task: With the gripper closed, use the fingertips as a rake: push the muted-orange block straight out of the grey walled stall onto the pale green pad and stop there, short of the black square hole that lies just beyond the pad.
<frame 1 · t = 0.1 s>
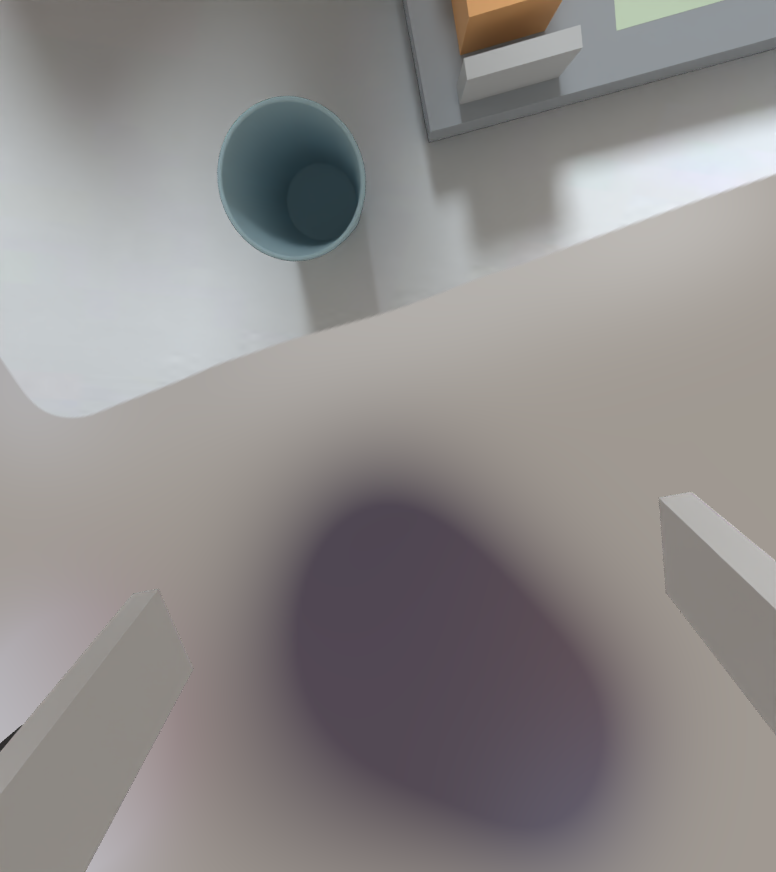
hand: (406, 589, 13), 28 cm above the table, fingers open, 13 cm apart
cup: (324, 204, 36), on the table
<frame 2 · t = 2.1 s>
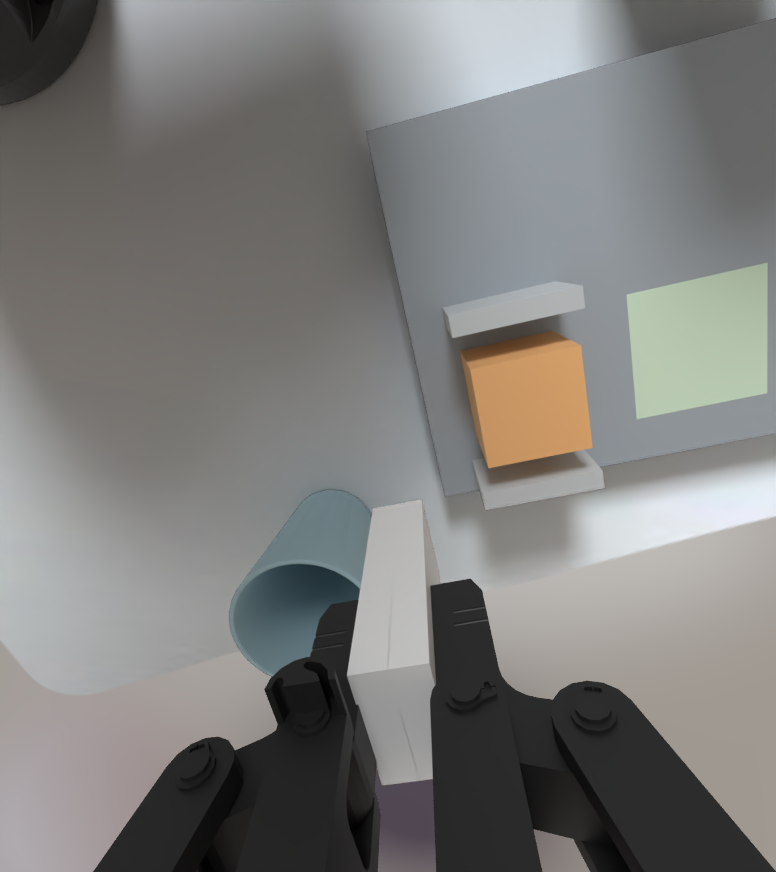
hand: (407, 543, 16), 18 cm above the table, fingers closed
orange block: (512, 384, 29), point 3 cm above the table, touching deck
cup: (334, 523, 36), on the table
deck: (649, 272, 29), on the table
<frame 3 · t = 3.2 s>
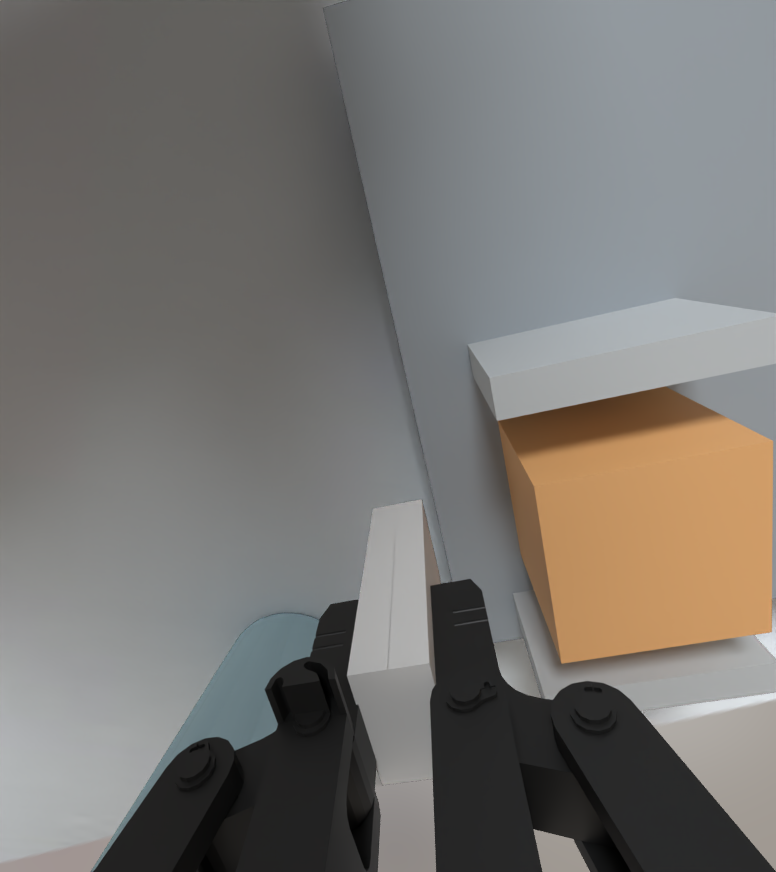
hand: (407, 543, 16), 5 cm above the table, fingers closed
orange block: (587, 475, 17), point 3 cm above the table, touching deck
cup: (294, 658, 24), on the table
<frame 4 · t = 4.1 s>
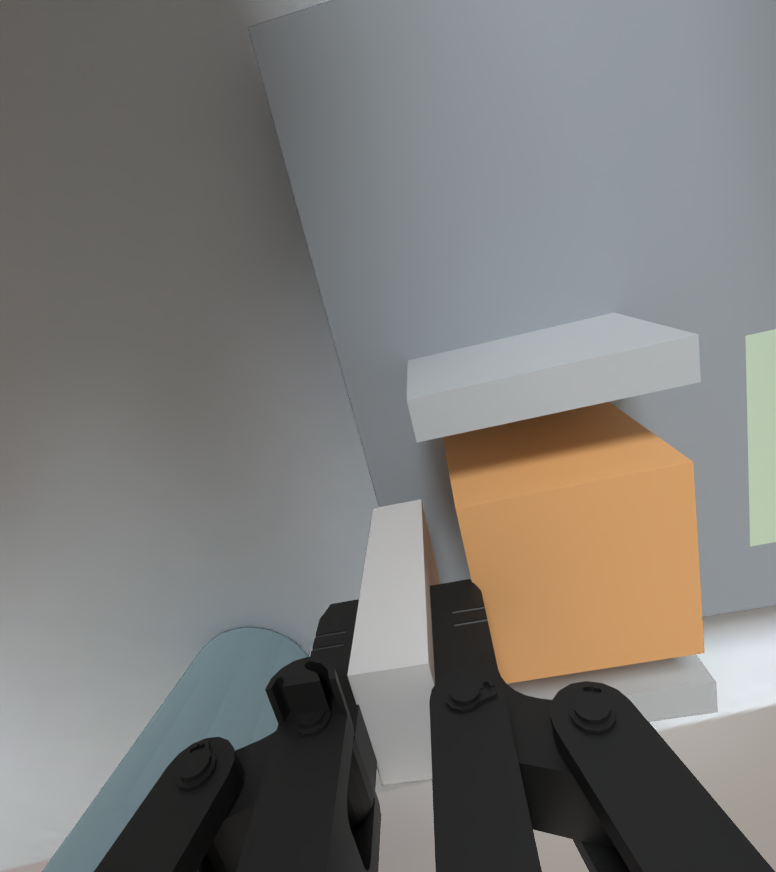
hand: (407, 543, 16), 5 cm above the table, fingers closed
orange block: (534, 490, 16), point 3 cm above the table, touching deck, gripper
cup: (258, 672, 23), on the table
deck: (768, 290, 17), on the table
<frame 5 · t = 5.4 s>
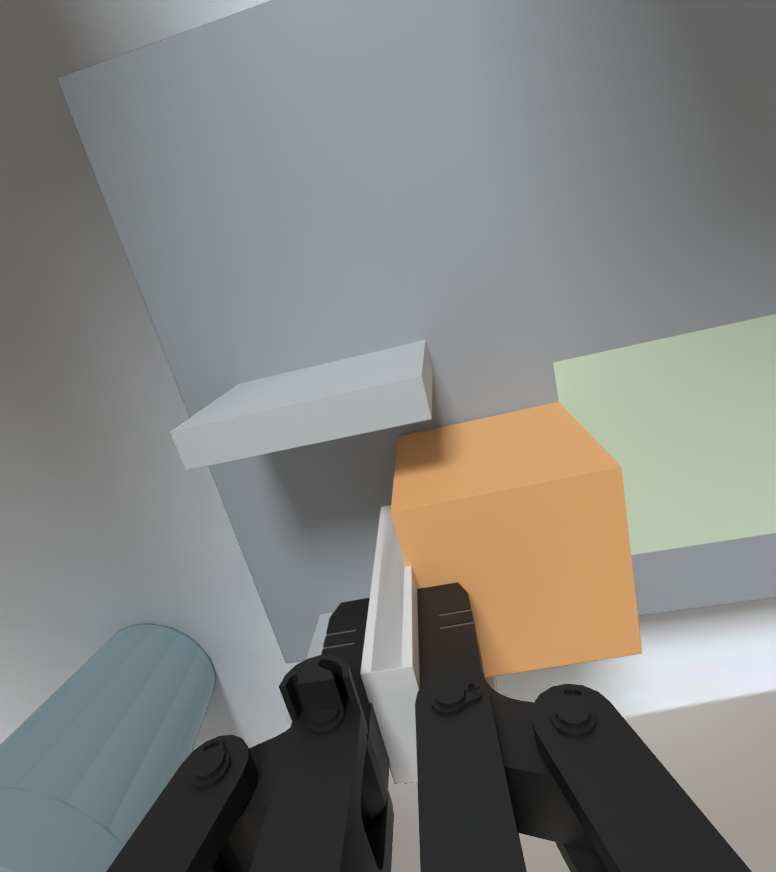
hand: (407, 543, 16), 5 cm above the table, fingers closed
orange block: (491, 491, 17), point 3 cm above the table, touching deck, gripper
cup: (162, 665, 25), on the table
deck: (607, 313, 17), on the table
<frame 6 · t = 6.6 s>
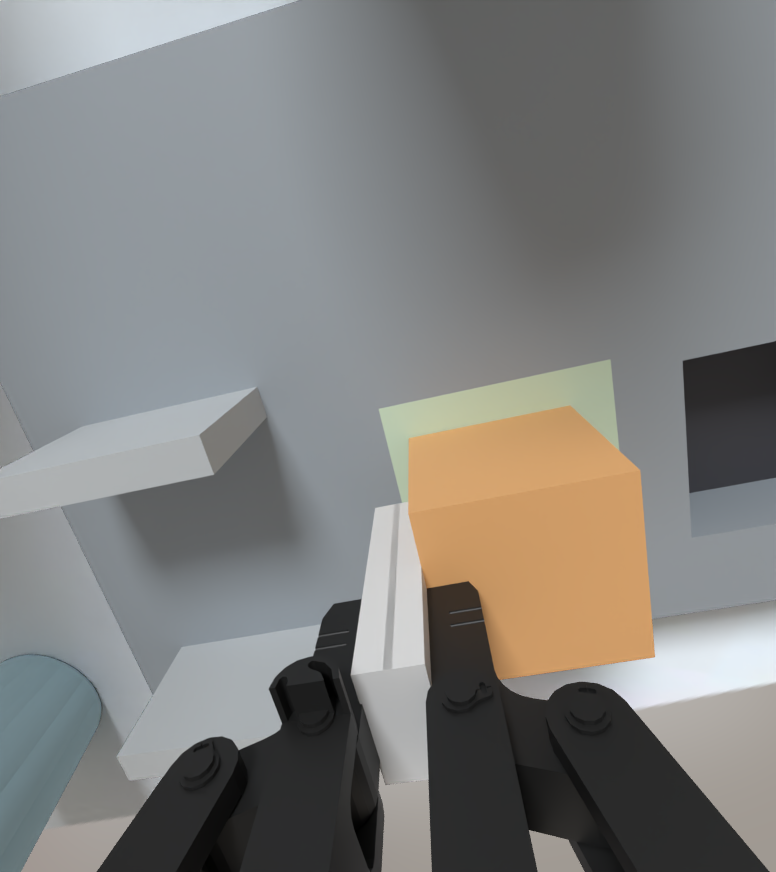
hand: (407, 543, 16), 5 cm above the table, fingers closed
orange block: (500, 494, 17), point 3 cm above the table, touching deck, gripper
cup: (49, 695, 25), on the table
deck: (449, 357, 18), on the table
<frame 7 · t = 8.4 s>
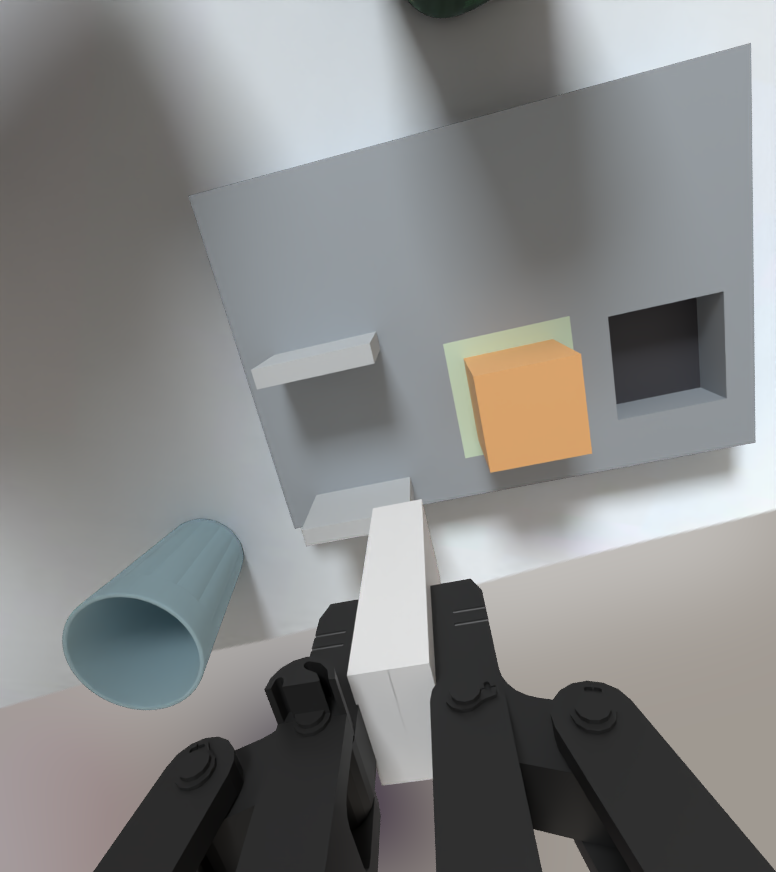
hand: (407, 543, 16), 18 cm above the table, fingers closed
orange block: (514, 391, 29), point 3 cm above the table, touching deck
cup: (207, 550, 37), on the table
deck: (479, 319, 31), on the table
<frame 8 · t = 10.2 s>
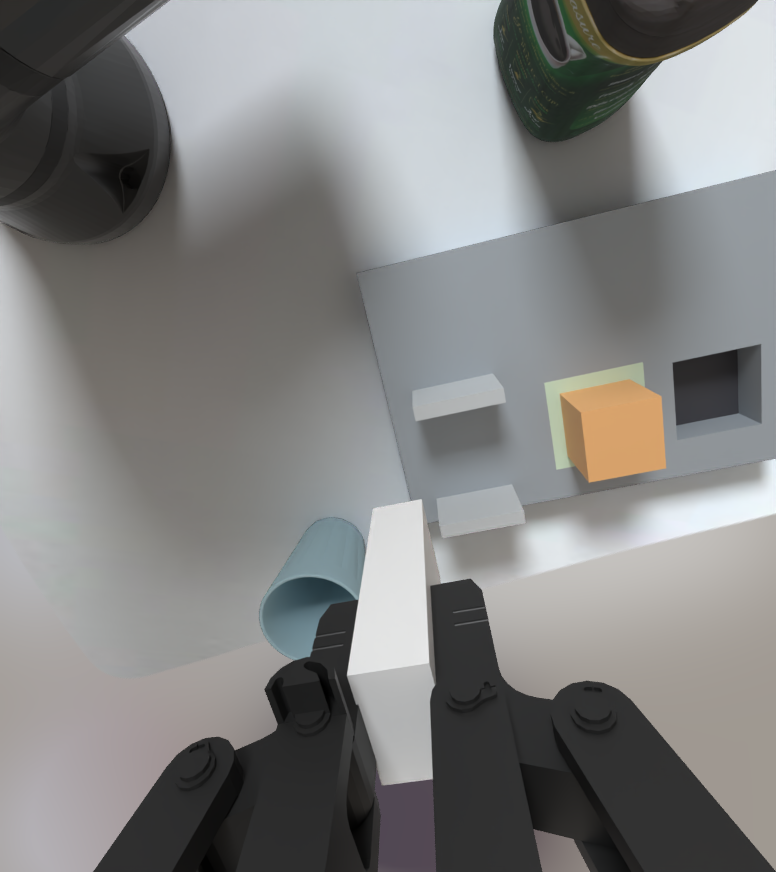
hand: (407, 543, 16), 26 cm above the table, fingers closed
orange block: (597, 418, 38), point 3 cm above the table, touching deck
cup: (334, 543, 46), on the table
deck: (566, 361, 40), on the table
coffee jar: (559, 58, 34), on the table
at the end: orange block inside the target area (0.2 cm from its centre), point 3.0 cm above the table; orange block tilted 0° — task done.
